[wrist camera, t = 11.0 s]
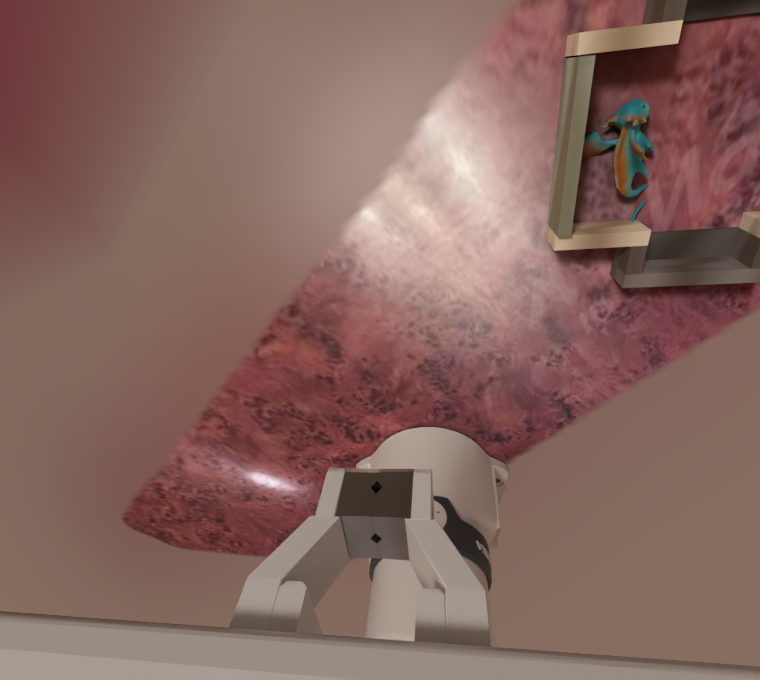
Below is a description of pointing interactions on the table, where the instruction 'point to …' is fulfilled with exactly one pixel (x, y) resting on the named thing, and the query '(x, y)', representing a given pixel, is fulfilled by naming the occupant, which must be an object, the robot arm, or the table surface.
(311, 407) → the table surface
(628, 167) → the dragon figurine
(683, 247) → the channel
